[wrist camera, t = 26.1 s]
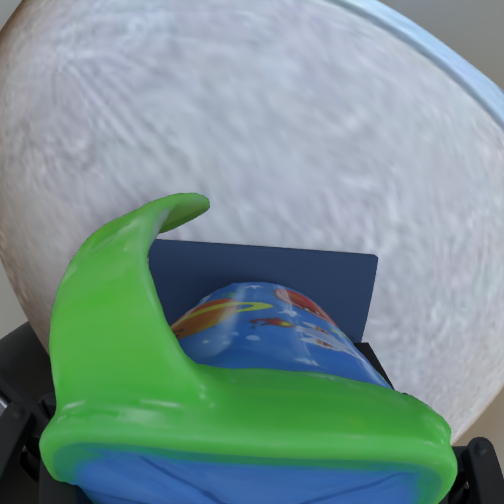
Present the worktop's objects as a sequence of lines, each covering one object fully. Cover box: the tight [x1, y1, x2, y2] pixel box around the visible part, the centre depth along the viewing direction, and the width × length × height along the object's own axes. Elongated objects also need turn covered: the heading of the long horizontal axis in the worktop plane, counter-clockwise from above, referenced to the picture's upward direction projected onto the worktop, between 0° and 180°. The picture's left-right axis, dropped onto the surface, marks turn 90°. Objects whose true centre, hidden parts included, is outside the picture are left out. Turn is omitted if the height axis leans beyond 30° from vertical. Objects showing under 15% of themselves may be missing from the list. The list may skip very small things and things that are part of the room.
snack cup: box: [39, 193, 457, 504], centre depth 9 cm, size 16×10×10 cm
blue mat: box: [149, 239, 378, 345], centre depth 14 cm, size 11×11×1 cm
